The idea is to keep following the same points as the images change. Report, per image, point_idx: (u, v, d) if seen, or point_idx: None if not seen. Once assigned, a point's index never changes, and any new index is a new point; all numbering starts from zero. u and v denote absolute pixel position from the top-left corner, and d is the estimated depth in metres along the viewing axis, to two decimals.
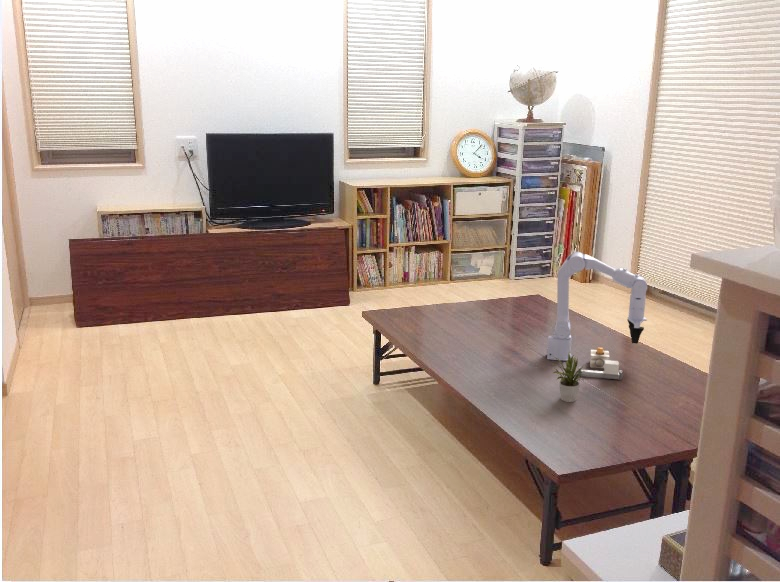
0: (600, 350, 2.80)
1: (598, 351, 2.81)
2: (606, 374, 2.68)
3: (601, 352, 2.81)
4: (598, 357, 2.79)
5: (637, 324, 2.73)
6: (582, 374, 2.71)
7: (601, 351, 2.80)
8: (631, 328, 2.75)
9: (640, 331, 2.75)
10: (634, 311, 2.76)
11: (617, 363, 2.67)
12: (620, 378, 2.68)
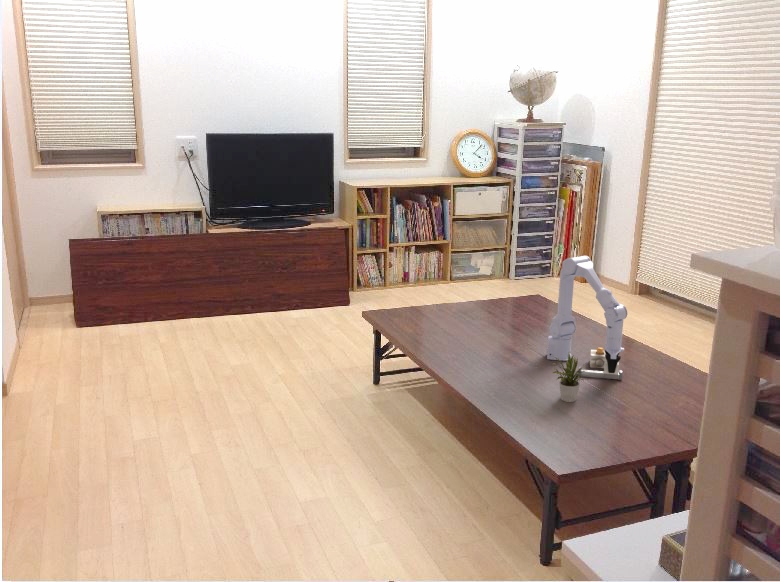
0: (600, 350, 2.80)
1: (598, 351, 2.81)
2: (606, 374, 2.68)
3: (601, 352, 2.81)
4: (598, 357, 2.79)
5: (613, 355, 2.60)
6: (582, 374, 2.71)
7: (601, 351, 2.80)
8: (607, 357, 2.64)
9: (617, 361, 2.64)
10: (611, 341, 2.64)
11: None
12: (620, 378, 2.68)
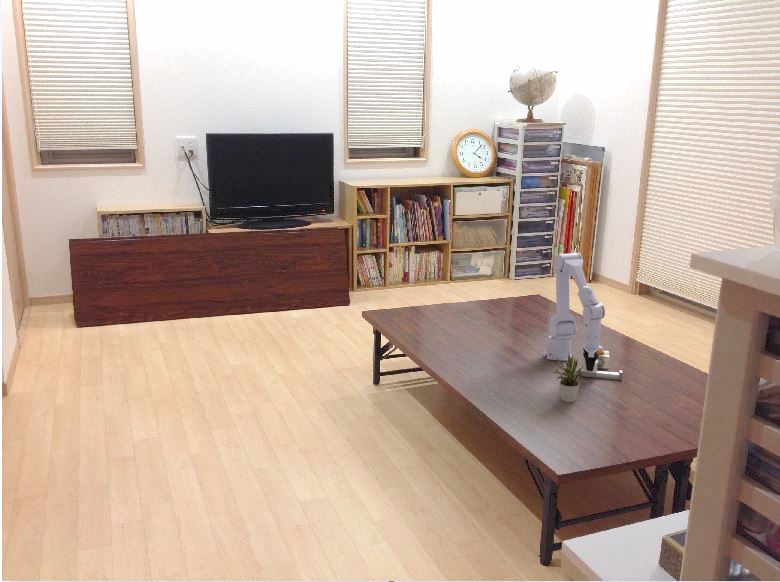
0: (600, 350, 2.80)
1: (598, 351, 2.81)
2: (585, 372, 2.70)
3: (601, 352, 2.81)
4: (598, 357, 2.79)
5: (591, 353, 2.62)
6: (582, 374, 2.71)
7: (601, 351, 2.80)
8: (585, 356, 2.66)
9: (595, 359, 2.66)
10: (589, 339, 2.66)
11: (596, 361, 2.69)
12: (620, 378, 2.68)
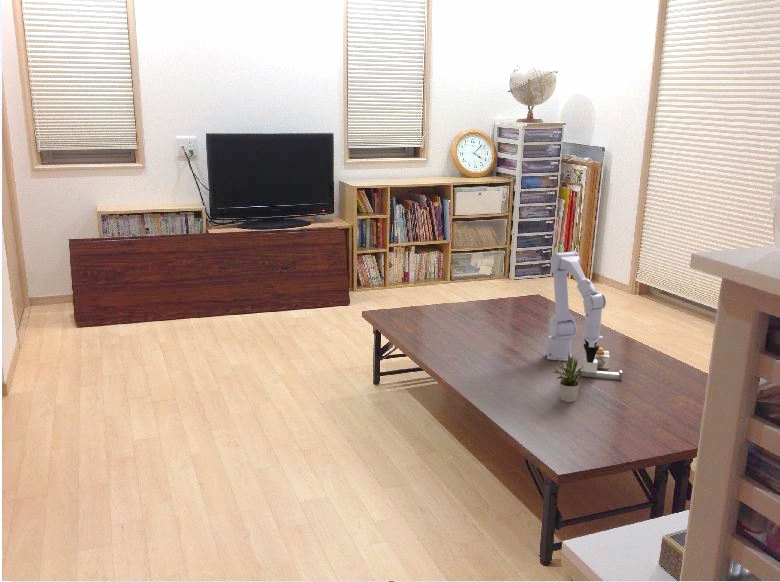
0: (600, 350, 2.80)
1: (598, 351, 2.81)
2: (584, 372, 2.70)
3: (601, 352, 2.81)
4: (598, 357, 2.79)
5: (592, 343, 2.61)
6: (582, 374, 2.71)
7: (601, 351, 2.80)
8: (586, 347, 2.63)
9: (595, 350, 2.63)
10: (589, 329, 2.65)
11: (595, 361, 2.69)
12: (620, 378, 2.68)
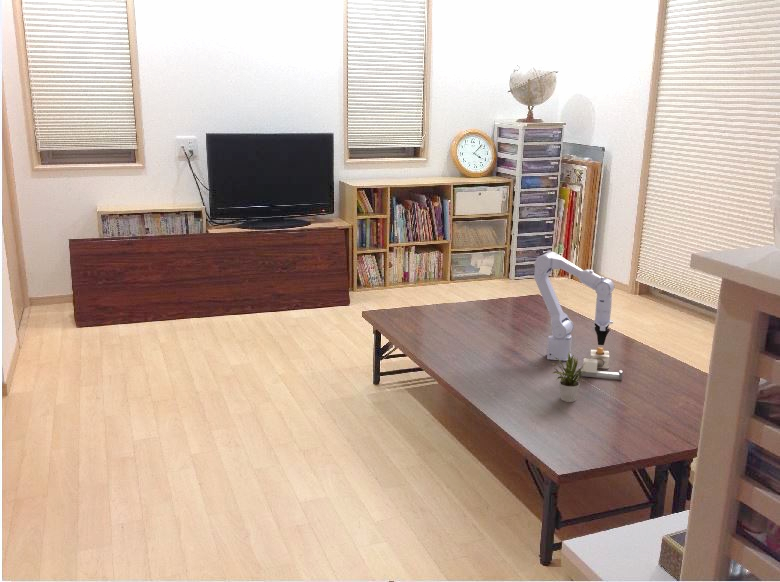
0: (600, 350, 2.80)
1: (598, 351, 2.81)
2: (584, 372, 2.70)
3: (601, 352, 2.81)
4: (598, 357, 2.79)
5: (603, 327, 2.72)
6: (582, 374, 2.71)
7: (601, 351, 2.80)
8: (597, 330, 2.75)
9: (606, 333, 2.75)
10: (600, 314, 2.75)
11: (595, 361, 2.69)
12: (620, 378, 2.68)
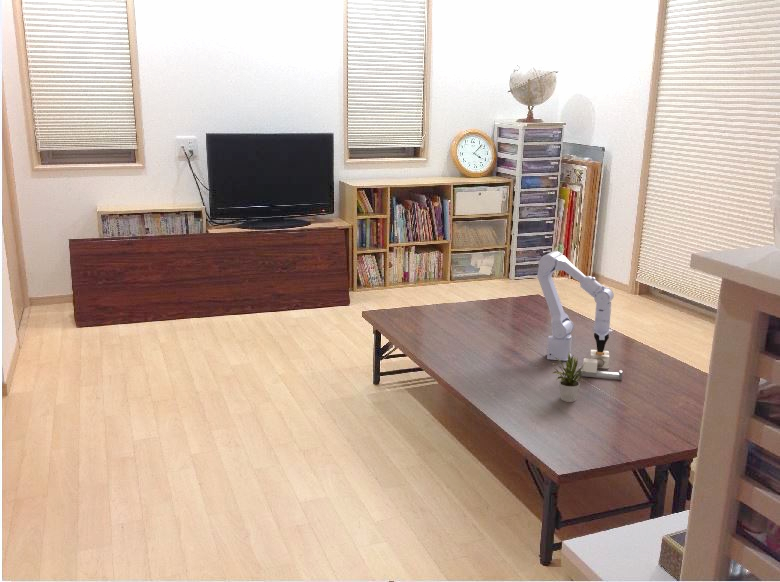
0: (600, 353, 2.81)
1: None
2: (584, 372, 2.70)
3: None
4: (598, 357, 2.79)
5: (602, 336, 2.73)
6: (582, 374, 2.71)
7: (601, 354, 2.81)
8: (596, 337, 2.78)
9: (605, 340, 2.78)
10: (599, 323, 2.76)
11: (595, 361, 2.69)
12: (620, 378, 2.68)
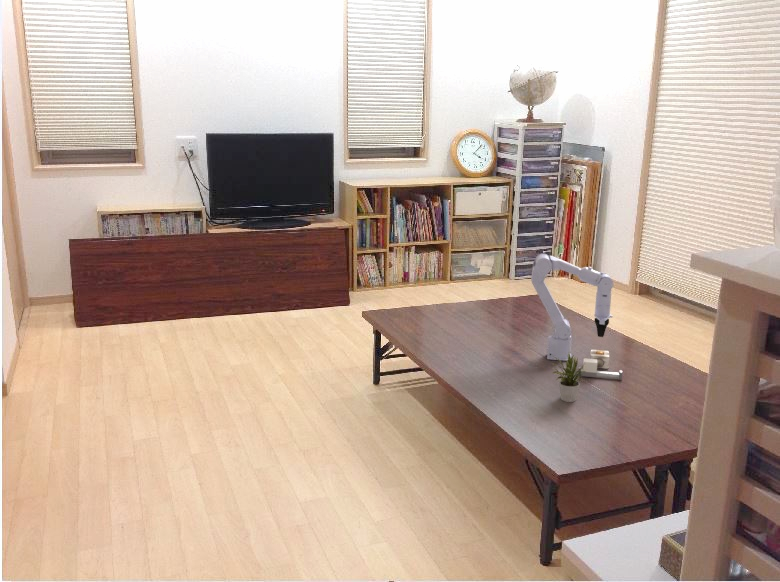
0: (600, 354, 2.81)
1: None
2: (584, 372, 2.70)
3: None
4: (598, 357, 2.79)
5: (602, 321, 2.78)
6: (582, 374, 2.71)
7: None
8: (596, 322, 2.83)
9: (605, 325, 2.83)
10: (600, 308, 2.81)
11: (595, 361, 2.69)
12: (620, 378, 2.68)
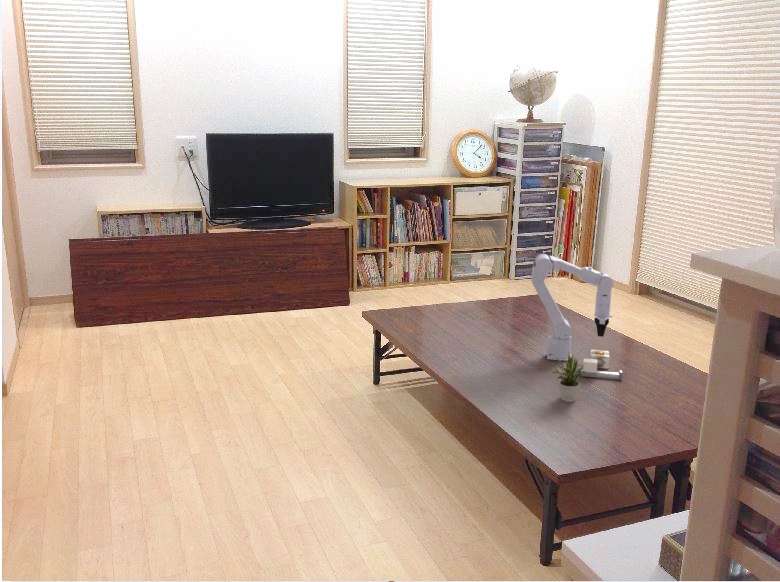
0: (600, 354, 2.81)
1: None
2: (584, 372, 2.70)
3: None
4: (598, 357, 2.79)
5: (602, 320, 2.78)
6: (582, 374, 2.71)
7: None
8: (596, 322, 2.83)
9: (605, 324, 2.83)
10: (600, 308, 2.82)
11: (595, 361, 2.69)
12: (620, 378, 2.68)
